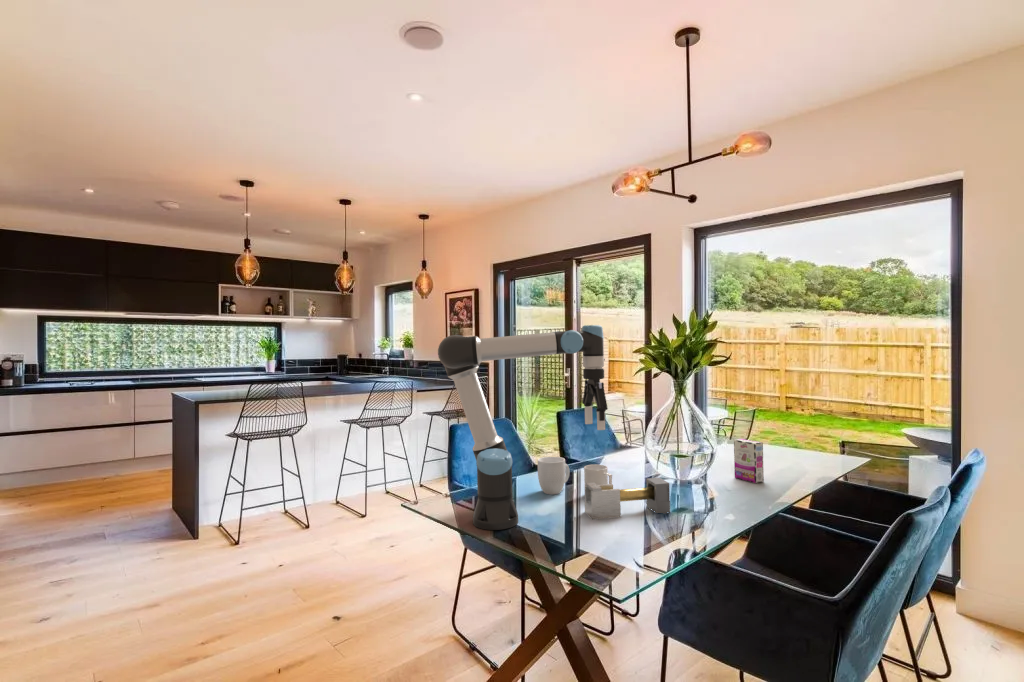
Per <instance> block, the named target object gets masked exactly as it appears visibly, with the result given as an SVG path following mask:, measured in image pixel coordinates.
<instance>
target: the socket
mask: <svg viewBox="0 0 1024 682" xmlns="http://www.w3.org/2000/svg"><path fill="white" fill-rule="evenodd" d="M645 480H646V483H645V484H646V488H647V487H654V496H655V499H647V500H646V508H647V507H649V508H650V509H652V510H653V511H655V512H656V513H663V514H668V513H667V512H670V513H671V498H670V496H671V495H670V493H671V491H670V482H668V481H666V480H664V479H663V478H660V477H651V478H650V477H649V478H646V479H645ZM649 508H648V509H649ZM650 509H649V510H650ZM652 510H651V511H652ZM653 511H652V512H653ZM655 512H654V513H655ZM656 513H655V514H656Z"/></svg>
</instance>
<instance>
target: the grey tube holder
mask: <svg viewBox="0 0 1024 682" xmlns="http://www.w3.org/2000/svg"><path fill="white" fill-rule="evenodd" d="M620 490H621V489H620V488H614V485H613V483H612V484H609V483H608V484H604V485H597V484H596V483H594V482H592V483H586V486H585V485H584V513H585V514H586V515H588V517H589V518H590V519H591V520H602V519H610V518H611V519H613V518H615V517H616V518H622V517H621V516H622V515H621V514H622V513H621V510H622V508H621V502H620Z"/></svg>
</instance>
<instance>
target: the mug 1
mask: <svg viewBox="0 0 1024 682" xmlns="http://www.w3.org/2000/svg"><path fill="white" fill-rule="evenodd" d="M570 472H571V471H570V467H569V465H568V464H567V463H566V459H565V458H564V457H560V456H543V457H539V458H537V478H538V483H539V486H540V489H541V490H542V492H543V494H547V495H551V496H553V495H558V494H560V493H561V492H562V490H563V489H564V484H566V483H567V482H568V480H569V478H570Z"/></svg>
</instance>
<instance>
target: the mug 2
mask: <svg viewBox="0 0 1024 682" xmlns="http://www.w3.org/2000/svg"><path fill="white" fill-rule="evenodd" d="M583 467H584V469H583V470H584V471H583V473H584V476H583V479H584V480H583V481H584V487H585V486H586V483H592V482H594V483H596V484H597V485H604V484H613V474H612V473H609V471H608V466H606V465H605V464H604V465H603V464H588V465H585V466H583Z"/></svg>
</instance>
